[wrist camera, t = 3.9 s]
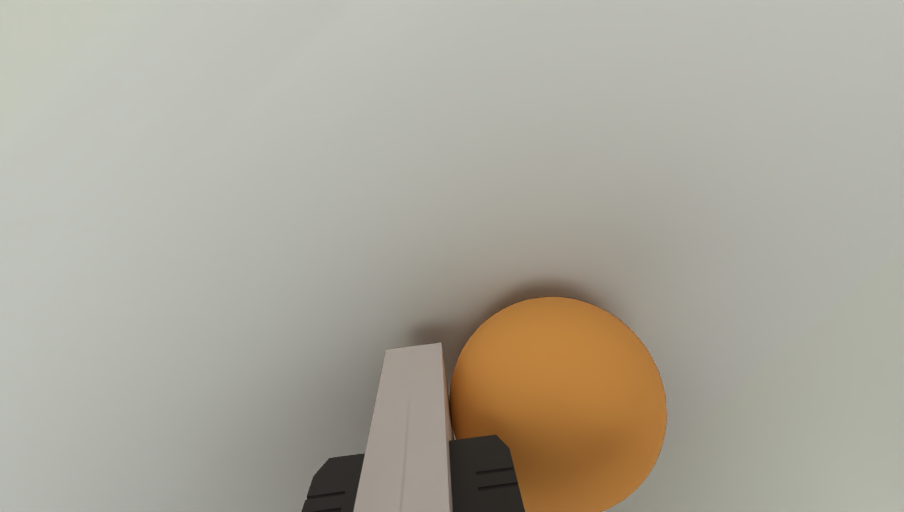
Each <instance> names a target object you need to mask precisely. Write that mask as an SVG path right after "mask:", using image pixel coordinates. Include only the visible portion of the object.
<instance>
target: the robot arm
mask: <svg viewBox="0 0 904 512" xmlns="http://www.w3.org/2000/svg"><path fill="white" fill-rule="evenodd" d="M302 512H525V509H524V505H523V501H522V497H521V493H520V489H519V486H518V481H517V476H516V472H515V469H514V464H513V460H512V456H511V452H510V448H509V447H508V446H507V445H506V444H505V443H504V442H503V441H502V440H501V439H500V438H499V437H498V436H497V435H488V436H481V437H473V438H465V439H458V440H454V431H453V427H452V422H451V416H450V402H449V395H448V388H447V380H446V373H445V366H444V359H443V351H442V344H441V343H433V344H426V345H418V346H410V347H403V348H395V349H387V350H386V353H385V358H384V363H383V368H382V372H381V377H380V382H379V387H378V392H377V397H376V402H375V407H374V412H373V417H372V422H371V427H370V432H369V437H368V442H367V446H366V451H365V454H357V455H350V456H342V457H334V458H329V459H328V460H327V461H326V463H325V464H324V465H323V466H322V467H321V468H320V469H319V471H318V472H317V473H316V474H315V475H314V477H313V480H312V483H311V486H310V489H309V492H308V494H307V500H305V503H304V506H303V509H302Z"/></svg>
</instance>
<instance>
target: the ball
mask: <svg viewBox="0 0 904 512" xmlns="http://www.w3.org/2000/svg"><path fill="white" fill-rule="evenodd" d="M450 416H451V422H452V427H453V431H454V434H455V437H456V440H458V439H465V438H473V437H481V436H488V435H497V436H498V437H499V438H500V439H501V440H502V441H503V442H504V443H505V444H506V445H507V446H508V447H509V448H510V452H511V456H512V460H513V464H514V469H515V472H516V476H517V481H518V486H519V489H520V493H521V497H522V501H523V505H524V509H525V511H526V512H602V511H604V510H606V509H609V508H611V507H612V506H614V505H616V504H618V503H619V502H621V501H623V500H624V499H625V498H627V497H628V496H629V495H631V494H632V493H633V492H634V491H635V490H636V489H637V488H638V487H639V486H640V485H641V484H642V482H643V481H644V480H645V479H646V477H647V476H648V475H649V473H650V471H651V470H652V468H653V466H654V464H655V462H656V460H657V458H658V456H659V453H660V451H661V447H662V444H663V440H664V436H665V430H666V421H667V411H666V397H665V392H664V387H663V384H662V381H661V377H660V374H659V371H658V369H657V367H656V365H655V363H654V361H653V359H652V357H651V355H650V353H649V351H648V350H647V349H646V347H645V346H644V344H643V343H642V342H641V340H640V339H639V338H638V337H637V336H636V335H635V334H634V332H633V331H632V330H631V329H630V328H629V327H627V326H626V325H625V324H624V323H623V322H621V321H620V320H619V319H617V318H616V317H615V316H613V315H612V314H610V313H608V312H606V311H605V310H603V309H601V308H599V307H597V306H595V305H592V304H589V303H586V302H583V301H580V300H576V299H570V298H564V297H541V298H534V299H528V300H524V301H521V302H517V303H515V304H513V305H511V306H508V307H506V308H504V309H502V310H501V311H499V312H497V313H496V314H494V315H493V316H491V317H490V318H489V319H487V320H486V321H485V322H484V323H483V324H482V325H481V326H480V327H479V328H478V329H477V330H476V331H475V332H474V333H473V335H472V336H471V337H470V338H469V340H468V341H467V343H466V344H465V346H464V348H463V349H462V351H461V353H460V356H459V358H458V360H457V363H456V366H455V369H454V372H453V376H452V381H451V386H450Z"/></svg>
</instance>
